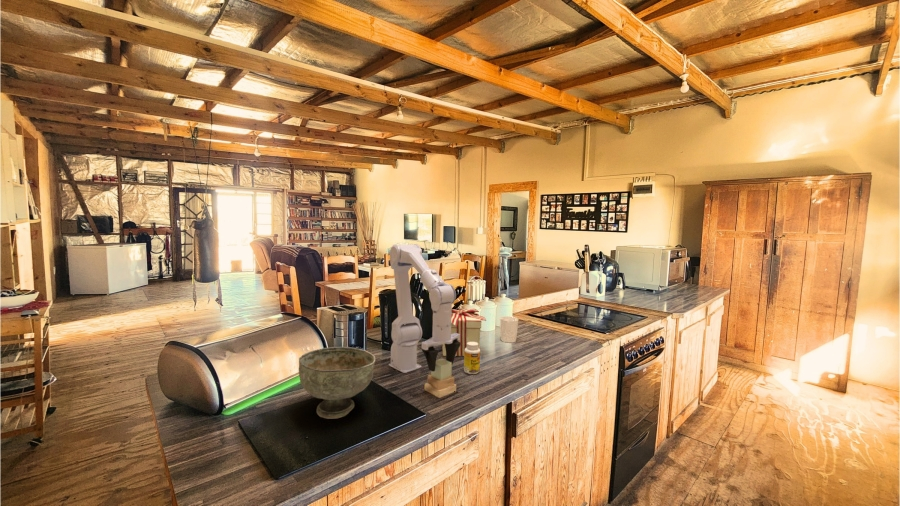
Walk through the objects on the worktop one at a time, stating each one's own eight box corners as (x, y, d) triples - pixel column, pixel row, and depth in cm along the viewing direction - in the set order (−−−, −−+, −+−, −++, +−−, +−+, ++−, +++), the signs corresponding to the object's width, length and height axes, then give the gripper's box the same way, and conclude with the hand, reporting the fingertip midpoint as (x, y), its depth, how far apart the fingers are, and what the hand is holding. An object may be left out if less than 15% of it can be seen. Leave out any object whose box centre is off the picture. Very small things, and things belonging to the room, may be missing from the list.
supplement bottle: (470, 376, 126) (470, 347, 126) (460, 370, 131) (461, 342, 130) (482, 372, 130) (483, 344, 129) (473, 367, 134) (474, 339, 133)
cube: (430, 375, 115) (431, 361, 115) (441, 371, 118) (441, 358, 118) (440, 380, 112) (441, 366, 112) (451, 376, 115) (451, 362, 115)
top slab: (427, 382, 116) (427, 375, 116) (443, 378, 119) (443, 371, 119) (438, 390, 111) (438, 382, 111) (454, 385, 114) (454, 377, 114)
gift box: (443, 360, 140) (444, 316, 138) (439, 344, 158) (439, 304, 156) (487, 359, 142) (489, 315, 140) (478, 343, 160) (479, 304, 159)
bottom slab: (424, 391, 115) (424, 383, 115) (440, 384, 120) (441, 377, 120) (439, 399, 110) (439, 391, 110) (456, 392, 115) (456, 384, 115)
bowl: (386, 410, 102) (387, 358, 101) (318, 437, 89) (318, 377, 88) (351, 386, 117) (351, 339, 115) (288, 406, 103) (287, 354, 102)
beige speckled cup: (520, 339, 167) (521, 318, 166) (513, 344, 160) (514, 322, 159) (503, 336, 171) (504, 315, 170) (496, 341, 164) (497, 319, 163)
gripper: (433, 331, 106) (432, 377, 107) (467, 322, 116) (466, 364, 117) (417, 326, 111) (416, 370, 112) (451, 318, 121) (450, 358, 122)
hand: (440, 367), depth 115 cm, fingers open, 7 cm apart
